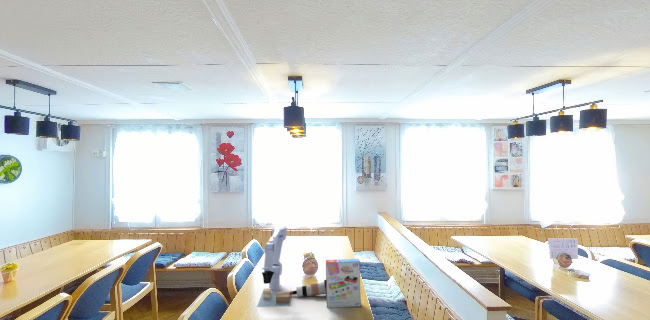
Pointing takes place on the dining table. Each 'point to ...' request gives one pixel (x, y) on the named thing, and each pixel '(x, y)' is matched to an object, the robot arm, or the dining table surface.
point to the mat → (271, 301)
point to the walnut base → (282, 297)
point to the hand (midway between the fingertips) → (266, 283)
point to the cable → (310, 290)
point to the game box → (343, 283)
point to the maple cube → (267, 293)
